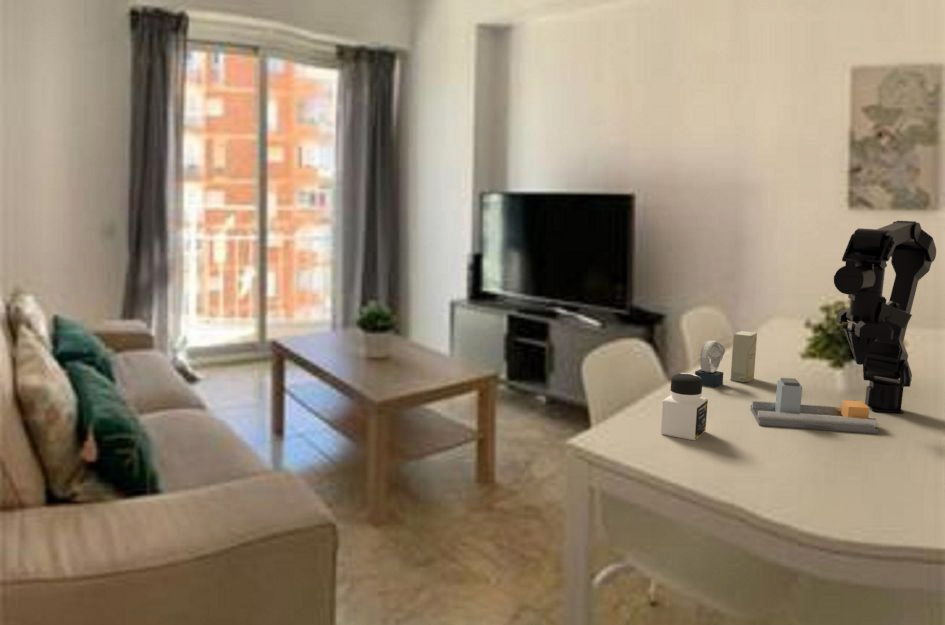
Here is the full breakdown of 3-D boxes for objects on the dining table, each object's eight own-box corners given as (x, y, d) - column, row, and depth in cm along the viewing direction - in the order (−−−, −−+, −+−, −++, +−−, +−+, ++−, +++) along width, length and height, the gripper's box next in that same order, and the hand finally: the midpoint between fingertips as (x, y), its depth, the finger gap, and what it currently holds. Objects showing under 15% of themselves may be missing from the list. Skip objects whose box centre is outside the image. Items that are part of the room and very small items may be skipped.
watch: (725, 382, 200) (728, 340, 198) (712, 389, 194) (715, 345, 192) (704, 379, 204) (707, 337, 202) (690, 384, 198) (693, 341, 196)
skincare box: (746, 383, 200) (750, 336, 198) (729, 380, 203) (732, 333, 201) (754, 378, 205) (758, 332, 203) (737, 375, 208) (740, 330, 206)
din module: (794, 412, 172) (797, 378, 171) (799, 418, 167) (802, 383, 166) (775, 410, 173) (777, 376, 172) (779, 417, 168) (782, 382, 167)
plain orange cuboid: (861, 415, 170) (862, 401, 169) (868, 421, 165) (869, 407, 164) (841, 413, 170) (842, 400, 170) (847, 420, 166) (848, 406, 165)
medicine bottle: (695, 441, 155) (699, 381, 153) (660, 434, 159) (663, 376, 157) (705, 431, 161) (710, 374, 159) (671, 425, 165) (675, 369, 163)
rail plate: (860, 416, 173) (861, 405, 173) (877, 434, 161) (878, 422, 161) (750, 409, 177) (751, 398, 177) (759, 425, 166) (760, 413, 165)
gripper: (926, 298, 153) (917, 377, 155) (894, 286, 171) (886, 357, 173) (864, 296, 155) (856, 373, 157) (839, 283, 173) (832, 353, 175)
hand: (859, 364), depth 166 cm, fingers closed
